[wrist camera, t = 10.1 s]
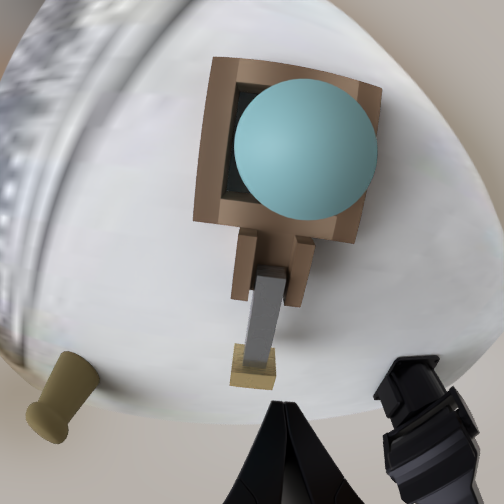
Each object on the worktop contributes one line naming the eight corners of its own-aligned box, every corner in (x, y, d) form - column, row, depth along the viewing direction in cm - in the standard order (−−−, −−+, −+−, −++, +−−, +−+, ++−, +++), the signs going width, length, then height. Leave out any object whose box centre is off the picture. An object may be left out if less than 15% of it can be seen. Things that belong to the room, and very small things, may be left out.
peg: (327, 119, 16) (385, 99, 8) (315, 190, 18) (362, 230, 10) (252, 106, 16) (245, 68, 8) (242, 179, 18) (225, 209, 9)
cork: (107, 378, 26) (71, 450, 16) (89, 391, 28) (57, 452, 17) (68, 344, 24) (21, 411, 14) (54, 360, 26) (15, 419, 16)
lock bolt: (294, 263, 17) (300, 287, 14) (271, 361, 20) (272, 390, 17) (246, 257, 17) (243, 280, 14) (232, 357, 20) (229, 385, 17)
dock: (364, 95, 15) (392, 84, 11) (328, 279, 20) (343, 311, 16) (220, 69, 15) (208, 48, 11) (198, 262, 20) (184, 292, 16)
